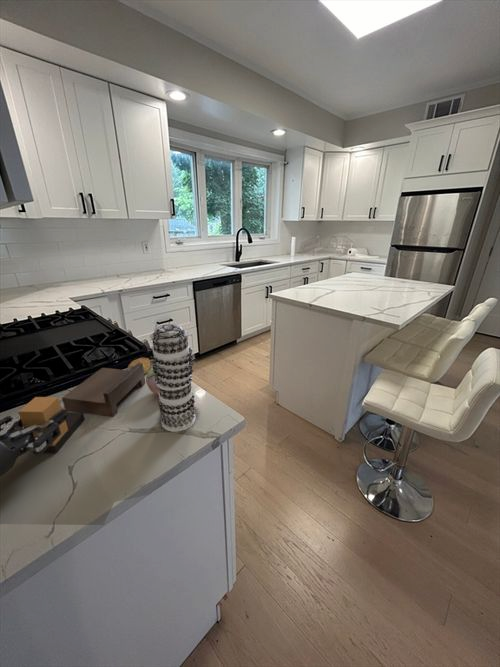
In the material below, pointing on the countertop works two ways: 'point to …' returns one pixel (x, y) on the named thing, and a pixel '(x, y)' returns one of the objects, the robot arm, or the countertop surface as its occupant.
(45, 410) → the two-tone stepped block
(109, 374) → the dark wooden riser stand
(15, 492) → the countertop surface
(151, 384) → the decorative fruit
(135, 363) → the pastry
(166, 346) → the decorative candle
